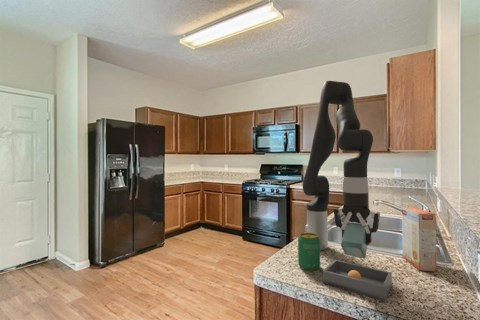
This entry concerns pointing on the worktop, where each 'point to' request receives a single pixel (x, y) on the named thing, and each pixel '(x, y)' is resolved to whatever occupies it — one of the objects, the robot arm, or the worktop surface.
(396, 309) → the worktop surface
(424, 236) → the cracker box
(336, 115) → the robot arm
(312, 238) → the beverage can
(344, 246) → the teal open-sided box
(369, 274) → the tray
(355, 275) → the ball
